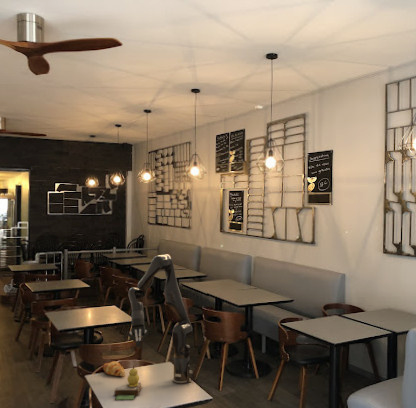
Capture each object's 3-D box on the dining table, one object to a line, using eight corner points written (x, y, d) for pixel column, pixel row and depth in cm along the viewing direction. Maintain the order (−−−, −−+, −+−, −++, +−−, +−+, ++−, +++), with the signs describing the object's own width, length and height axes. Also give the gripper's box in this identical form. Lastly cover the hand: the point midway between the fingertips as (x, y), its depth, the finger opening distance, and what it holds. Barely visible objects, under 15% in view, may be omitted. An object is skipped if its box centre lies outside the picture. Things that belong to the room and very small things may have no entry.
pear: (139, 382, 262) (140, 364, 262) (138, 387, 255) (138, 368, 256) (128, 383, 261) (128, 364, 262) (126, 387, 255) (126, 368, 255)
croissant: (127, 381, 272) (133, 368, 275) (115, 378, 265) (121, 364, 268) (107, 372, 286) (112, 359, 288) (94, 368, 279) (100, 355, 281)
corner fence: (140, 387, 255) (140, 382, 255) (137, 395, 244) (137, 390, 244) (118, 388, 254) (118, 382, 254) (114, 395, 243) (114, 390, 243)
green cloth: (134, 396, 244) (134, 394, 244) (132, 399, 239) (133, 398, 239) (117, 396, 243) (117, 395, 243) (115, 400, 238) (115, 399, 238)
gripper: (126, 318, 276) (126, 348, 267) (148, 316, 278) (149, 345, 269) (127, 322, 282) (128, 350, 274) (149, 319, 284) (150, 347, 276)
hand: (138, 347), depth 272 cm, fingers closed
